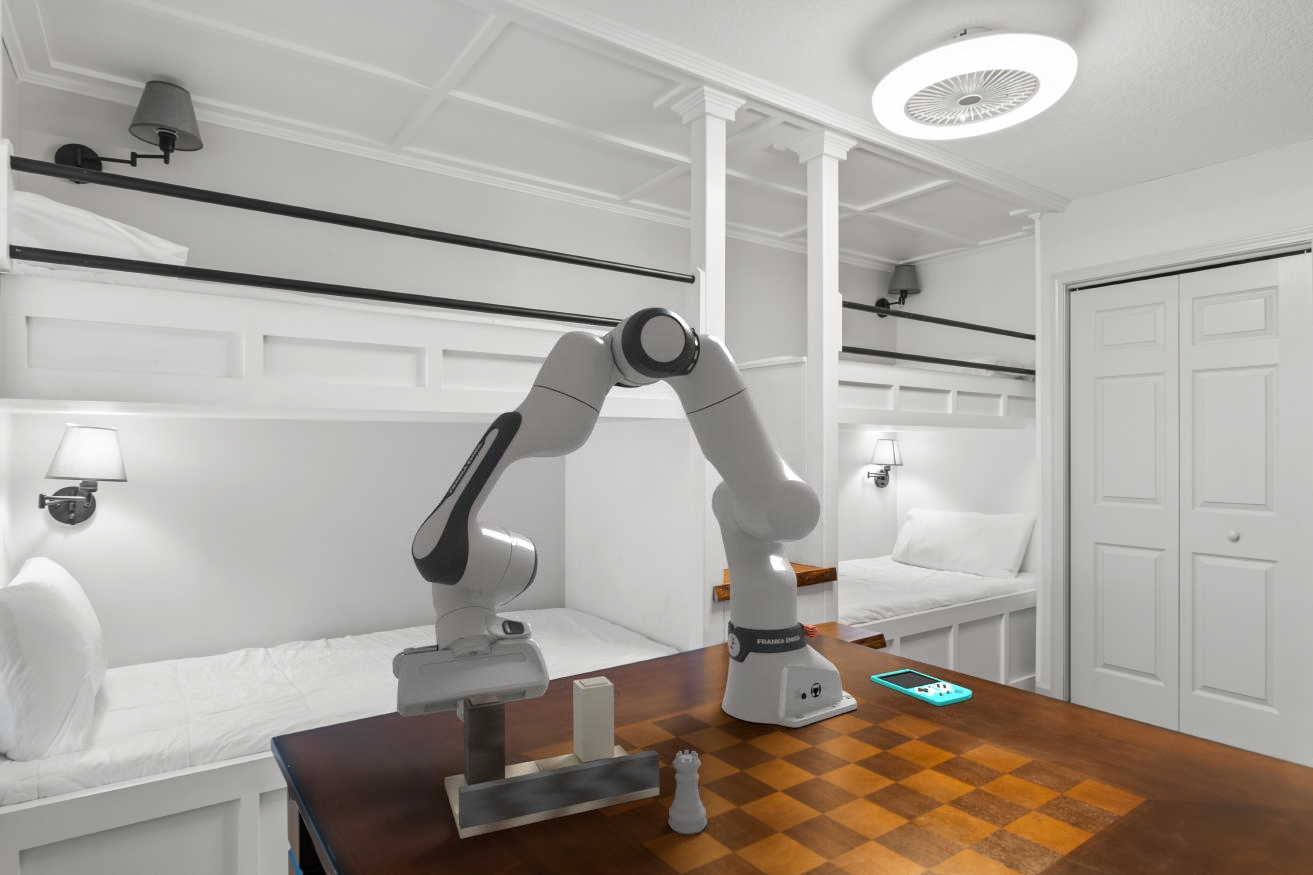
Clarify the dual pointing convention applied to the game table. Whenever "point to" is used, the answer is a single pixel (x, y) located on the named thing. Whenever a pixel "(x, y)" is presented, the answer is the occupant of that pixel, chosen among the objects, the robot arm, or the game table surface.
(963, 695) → the handheld game console
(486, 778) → the ebony key
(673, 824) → the rook chess piece
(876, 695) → the game table surface
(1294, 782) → the game table surface
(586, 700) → the ivory key
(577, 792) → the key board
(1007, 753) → the game table surface
